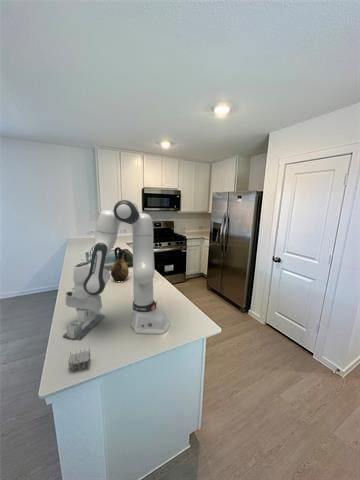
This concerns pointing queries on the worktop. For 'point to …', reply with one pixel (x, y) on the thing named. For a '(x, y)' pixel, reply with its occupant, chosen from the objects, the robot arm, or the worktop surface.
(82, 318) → the block
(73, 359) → the building frame
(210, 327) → the worktop surface
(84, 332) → the rail plate
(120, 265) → the ceramic jug
